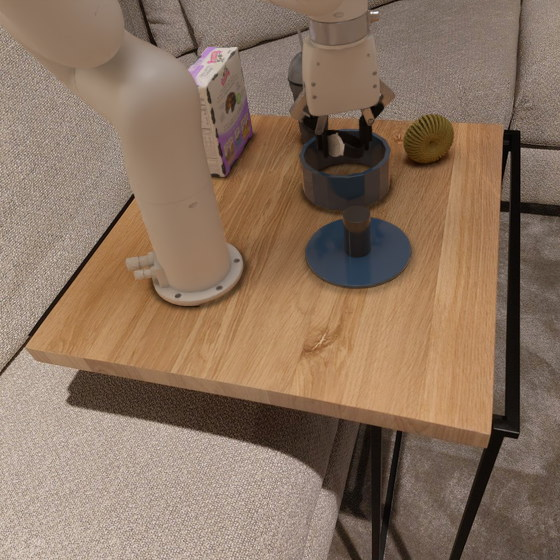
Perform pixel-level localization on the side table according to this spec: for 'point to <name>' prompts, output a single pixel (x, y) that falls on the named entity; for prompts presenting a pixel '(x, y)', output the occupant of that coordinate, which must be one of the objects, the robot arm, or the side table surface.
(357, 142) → the watch
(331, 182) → the tin
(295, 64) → the beverage cup
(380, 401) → the side table surface
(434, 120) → the sculpture
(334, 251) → the tin lid
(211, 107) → the candy box
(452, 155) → the side table surface
